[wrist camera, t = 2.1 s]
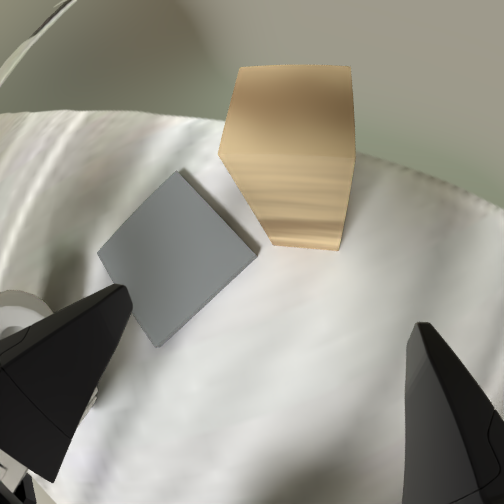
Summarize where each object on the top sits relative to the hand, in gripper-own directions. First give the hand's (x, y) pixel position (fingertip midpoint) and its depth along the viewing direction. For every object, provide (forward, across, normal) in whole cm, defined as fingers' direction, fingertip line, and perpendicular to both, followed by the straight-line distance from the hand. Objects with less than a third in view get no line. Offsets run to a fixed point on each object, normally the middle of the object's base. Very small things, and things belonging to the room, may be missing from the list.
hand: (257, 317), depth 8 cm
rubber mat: (+12, +11, +7) cm, 18 cm away
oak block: (+15, 0, +4) cm, 16 cm away
